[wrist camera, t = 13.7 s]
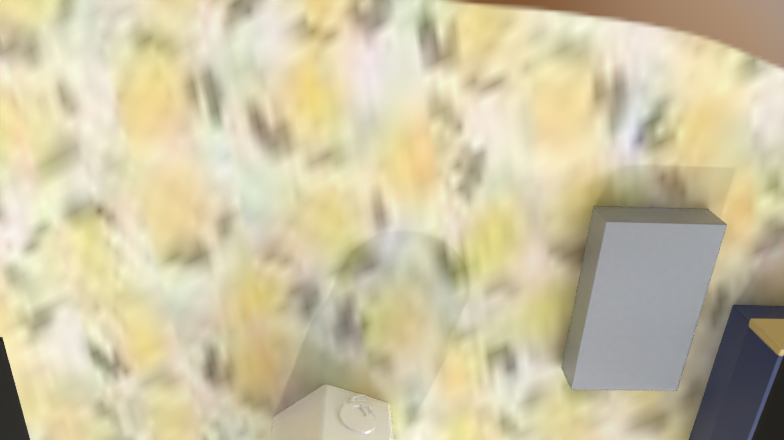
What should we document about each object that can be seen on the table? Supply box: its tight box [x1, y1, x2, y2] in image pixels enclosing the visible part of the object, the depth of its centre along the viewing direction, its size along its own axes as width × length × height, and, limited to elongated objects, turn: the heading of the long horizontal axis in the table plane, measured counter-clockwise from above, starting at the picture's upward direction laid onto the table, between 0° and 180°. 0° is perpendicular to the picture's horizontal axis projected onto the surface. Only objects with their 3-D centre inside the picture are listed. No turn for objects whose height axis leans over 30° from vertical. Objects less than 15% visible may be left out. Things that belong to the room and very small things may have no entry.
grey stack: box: [562, 206, 727, 391], centre depth 39 cm, size 12×7×5 cm, turn 178°
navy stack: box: [689, 305, 784, 440], centre depth 42 cm, size 12×9×5 cm
